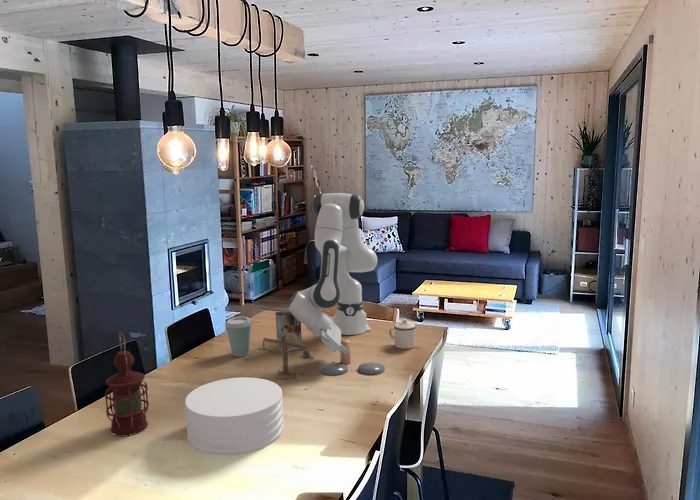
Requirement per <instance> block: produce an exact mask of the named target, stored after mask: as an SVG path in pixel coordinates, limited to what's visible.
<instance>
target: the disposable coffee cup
mask: <svg viewBox="0 0 700 500" xmlns="http://www.w3.org/2000/svg"><path fill="white" fill-rule="evenodd" d="M224 324H225V327H226V332H227V336H228V340H229V345H230V350H231V354H232V356H234V357H238V358H239V357H240V358H241V357H245V356H248V354H249V352H250V344H251V343H250V341H251V339H250V338H251V332H252V331H251V329H252V324H253V323H252V320H251V319H250V318H249V316H241V315H240V316H235V317H232V318H230V319H227V321H226V323H224Z"/></svg>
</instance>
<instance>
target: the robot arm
mask: <svg viewBox="0 0 700 500" xmlns="http://www.w3.org/2000/svg"><path fill="white" fill-rule="evenodd" d="M311 206H312V207H311V209H312V213H313V214H314V215H315V217H317V219H316V224H315V228H314V246H315V248H316V250H318V251H319V253H320V257H321V263H320V275H319V280H318V282H317V283H315V284H313V285H312V286H310V287H308V288H306V289H303V290H297V291H295V292H294V293H293V294H292V296H291V297H290V299H289V300H288V303H287V309H288V310H289V311H290V312H291V313H292V314H293V316H294V317H295V318H296V319H298V320H299V321H300V322H301V324H303V325H304V326H305V327H306V329H307V330H308V331H310V332H311V333H312V334H313V335H314V336H315V337H316V338H319V337H320V340H321V341H322V342H323V343H324V344H325V346H327V347H328V349H329V350H331V351H332V352H334V353H336V352H337V351H339V352H340V351H342V352H343V353H344V354H346V353H347V352H348V349H347V348H346V347H344V346H343V345H342V344H341V340H342V339H344V338H343V337H342V335H346V336H352V335H355V336H356V335H360V334H364V333H367V332H370V331H371V330H372V329H371V327H370V326H369V325H368V323H367V313H366V312H365V311H364V301H363V296H362V294H363V288H362V287H363V286H362V284H361V282H359V281H358V280H357V279H355V278H353V277H352V276H350V273H367V272H372V271H374V269H376V267H377V265H378V256H377V254H376V252H375V251H374V250H373V249H372V248H370V247H368V246H367V244H365V242H364V241H363V239H362V237H361V234H360V228H359V219H360V218H361V217H362V216H363V213H364V211H365V203H364V199H363V197H362V196H361V195H360V194H357V193H344V192H329V193H325V192H321V193H317V194H316V195H314V197H313V199H312V204H311ZM341 246H342V247H341ZM344 247H345V248H344ZM334 306H336V308H337V310H336V312H334V314H333V320H332V319H331V318H332V317H331V316H330V315H329V314H326V313H325V312H324V311H323V310H324V309H330V308H333V307H334Z"/></svg>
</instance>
